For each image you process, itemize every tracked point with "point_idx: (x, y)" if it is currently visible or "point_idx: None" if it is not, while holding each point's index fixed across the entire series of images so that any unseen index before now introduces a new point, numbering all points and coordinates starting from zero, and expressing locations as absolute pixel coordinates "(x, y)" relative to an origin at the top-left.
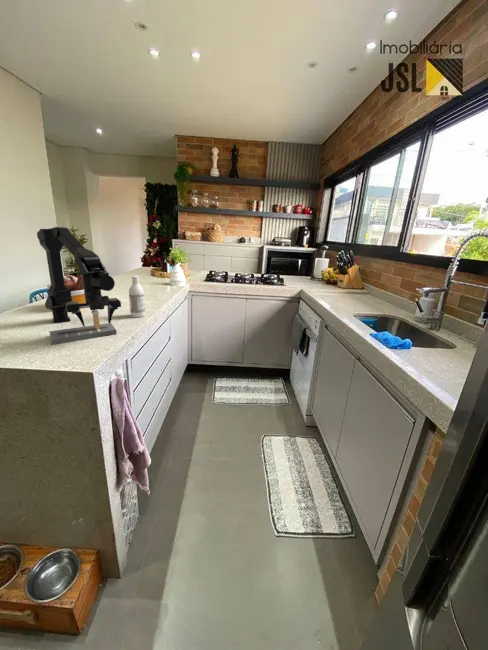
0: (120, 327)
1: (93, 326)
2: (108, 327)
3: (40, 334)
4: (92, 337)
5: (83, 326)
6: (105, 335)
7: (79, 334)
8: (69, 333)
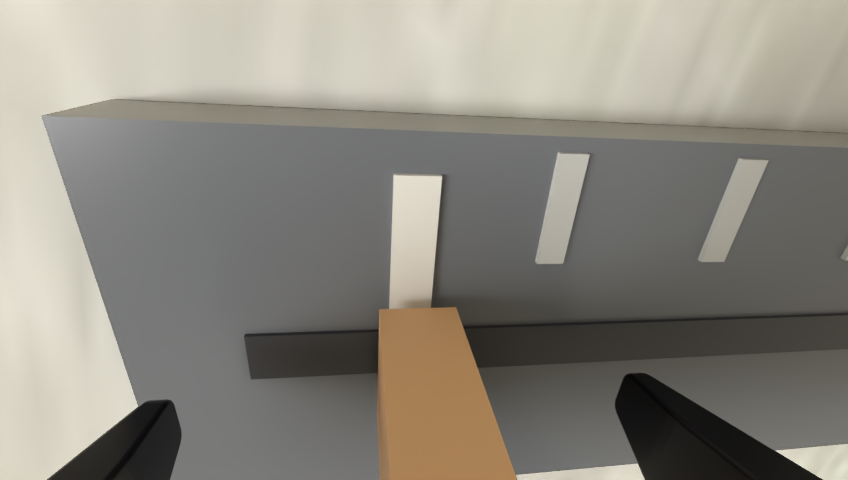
0: (58, 398)
1: None
2: (222, 331)
3: (820, 455)
4: (532, 120)
5: (654, 379)
6: (323, 111)
7: (749, 170)
8: (791, 296)
